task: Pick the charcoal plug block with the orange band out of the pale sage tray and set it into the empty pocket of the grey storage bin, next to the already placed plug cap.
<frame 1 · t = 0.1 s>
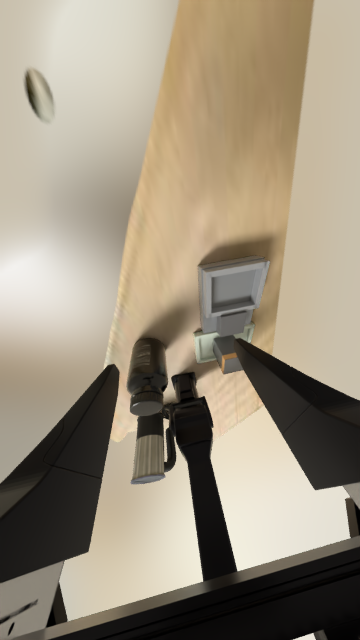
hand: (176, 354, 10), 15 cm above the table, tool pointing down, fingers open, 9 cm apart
plug: (222, 343, 31), point 1 cm above the table, touching tray
supplement bottle: (149, 348, 29), on the table
tray: (221, 341, 31), on the table
grey storage bin: (224, 296, 25), on the table
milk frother: (159, 412, 47), on the table
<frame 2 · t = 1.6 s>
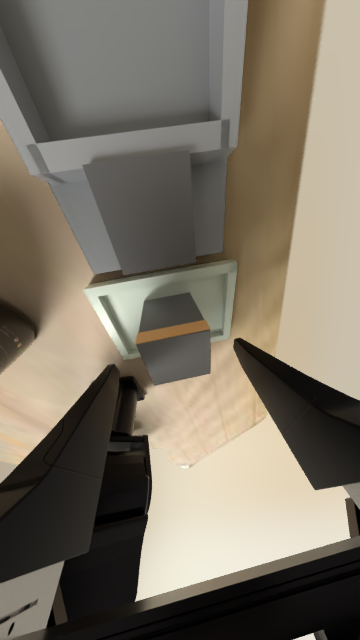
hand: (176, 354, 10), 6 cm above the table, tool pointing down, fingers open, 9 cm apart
plug: (171, 315, 14), point 1 cm above the table, touching tray
tray: (170, 312, 15), on the table
grey storage bin: (136, 145, 8), on the table
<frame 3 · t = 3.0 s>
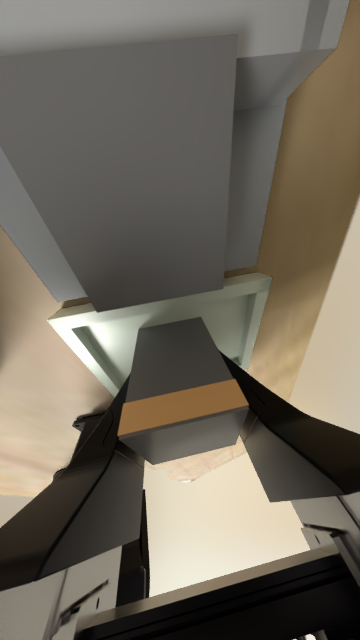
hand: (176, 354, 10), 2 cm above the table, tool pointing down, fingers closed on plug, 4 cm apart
plug: (174, 344, 11), point 1 cm above the table, touching gripper, tray
tray: (174, 339, 11), on the table
grey storage bin: (118, 84, 4), on the table
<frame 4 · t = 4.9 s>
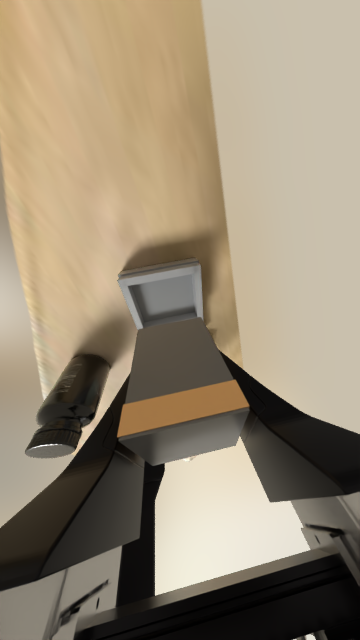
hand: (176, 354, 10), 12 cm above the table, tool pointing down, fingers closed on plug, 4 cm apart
plug: (174, 345, 11), point 11 cm above the table, touching gripper
supplement bottle: (91, 364, 25), on the table
grey storage bin: (167, 306, 21), on the table
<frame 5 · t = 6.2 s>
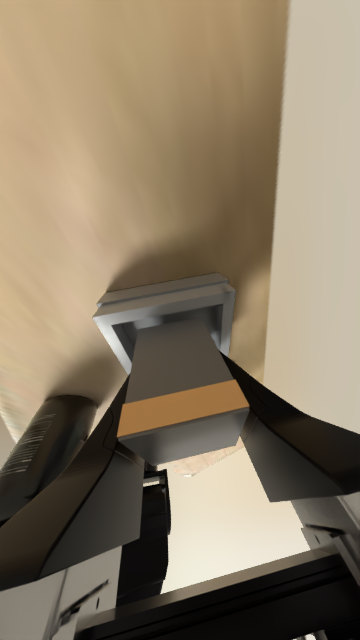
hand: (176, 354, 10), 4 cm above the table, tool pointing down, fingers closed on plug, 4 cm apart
plug: (174, 345, 11), point 3 cm above the table, touching gripper
supplement bottle: (73, 404, 19), on the table
grey storage bin: (174, 336, 15), on the table
when the fingers open (4 cm above the table, at t = 7.0 s): plug stays where it is, resting on grey storage bin.
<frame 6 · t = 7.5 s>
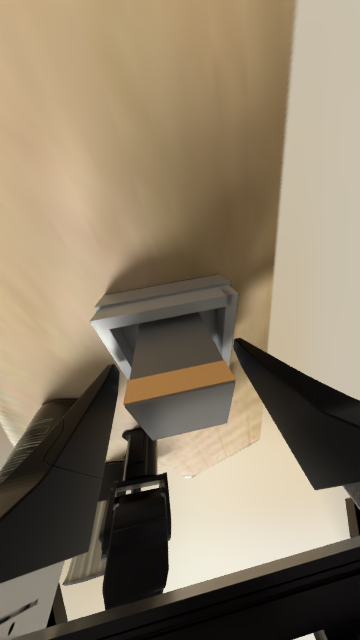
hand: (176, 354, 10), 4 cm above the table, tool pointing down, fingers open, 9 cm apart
plug: (173, 336, 11), point 2 cm above the table, touching grey storage bin
supplement bottle: (71, 408, 19), on the table
grey storage bin: (174, 339, 14), on the table
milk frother: (122, 460, 37), on the table
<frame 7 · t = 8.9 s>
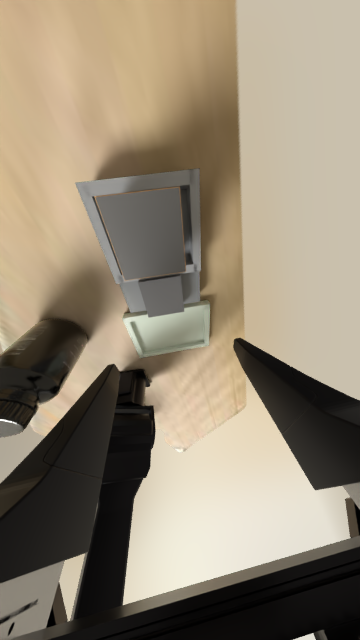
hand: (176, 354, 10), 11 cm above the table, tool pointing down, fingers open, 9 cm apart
plug: (151, 235, 13), point 2 cm above the table, touching grey storage bin
supplement bottle: (65, 333, 21), on the table
tray: (170, 329, 23), on the table
grey storage bin: (156, 255, 16), on the table
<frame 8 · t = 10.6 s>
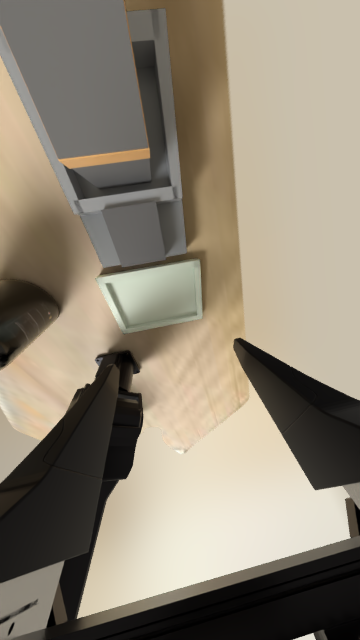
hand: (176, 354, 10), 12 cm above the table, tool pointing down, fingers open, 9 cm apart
plug: (115, 145, 10), point 2 cm above the table, touching grey storage bin
supplement bottle: (31, 302, 18), on the table
tray: (156, 297, 20), on the table
grey storage bin: (129, 190, 13), on the table
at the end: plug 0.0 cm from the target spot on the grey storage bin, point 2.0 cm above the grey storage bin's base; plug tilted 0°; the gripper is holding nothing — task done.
